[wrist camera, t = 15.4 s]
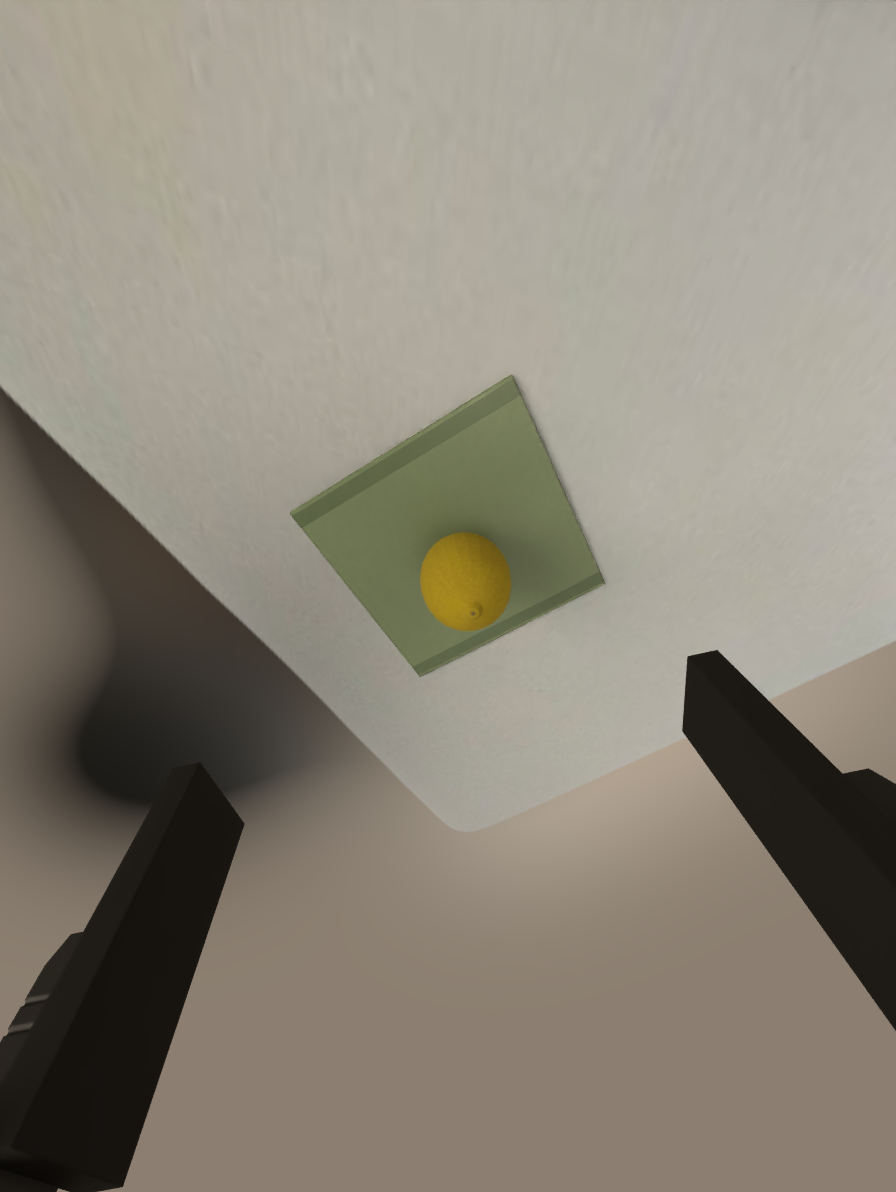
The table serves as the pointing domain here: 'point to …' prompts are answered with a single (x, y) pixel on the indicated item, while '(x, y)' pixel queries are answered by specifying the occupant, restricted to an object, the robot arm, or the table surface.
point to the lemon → (465, 581)
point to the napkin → (454, 524)
